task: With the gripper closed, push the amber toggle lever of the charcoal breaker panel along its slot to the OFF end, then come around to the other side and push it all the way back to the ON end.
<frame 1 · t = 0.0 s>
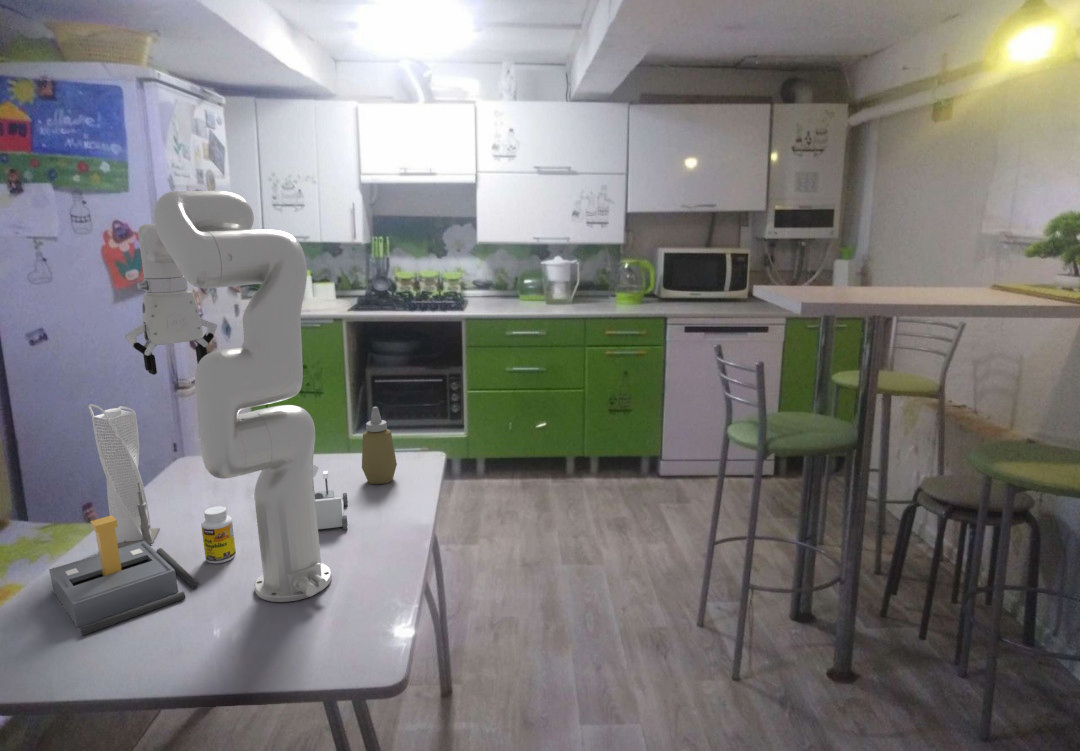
hand: (177, 369, 150), 31 cm above the table, tool pointing down, fingers open, 9 cm apart
cord along the side: (135, 615, 117), on the table
skyscraper: (133, 539, 144), on the table
breaker panel: (115, 591, 125), on the table
toy rover: (319, 518, 154), on the table
squeeze bottle: (380, 481, 173), on the table
dark grey rod: (176, 570, 131), on the table
supplement bottle: (221, 559, 136), on the table
breaker lever: (108, 548, 123), point 8 cm above the table, slide at 4.5 cm
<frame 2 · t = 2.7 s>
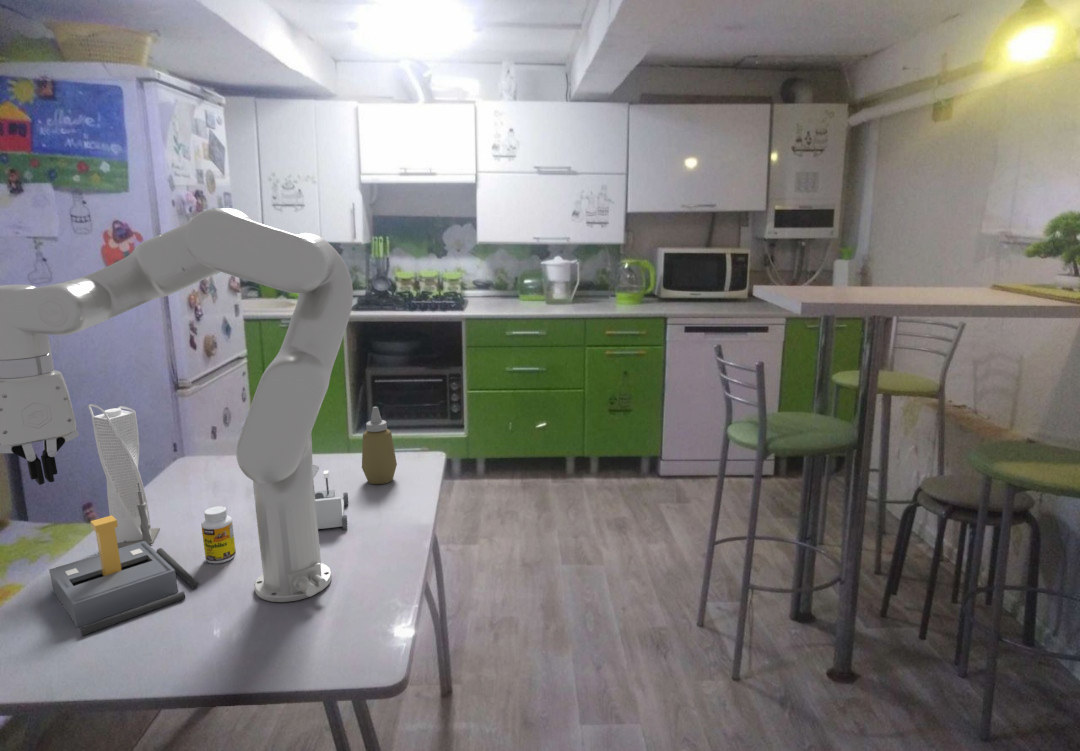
hand: (44, 480, 115), 22 cm above the table, tool pointing down, fingers closed
nothing on the table moved.
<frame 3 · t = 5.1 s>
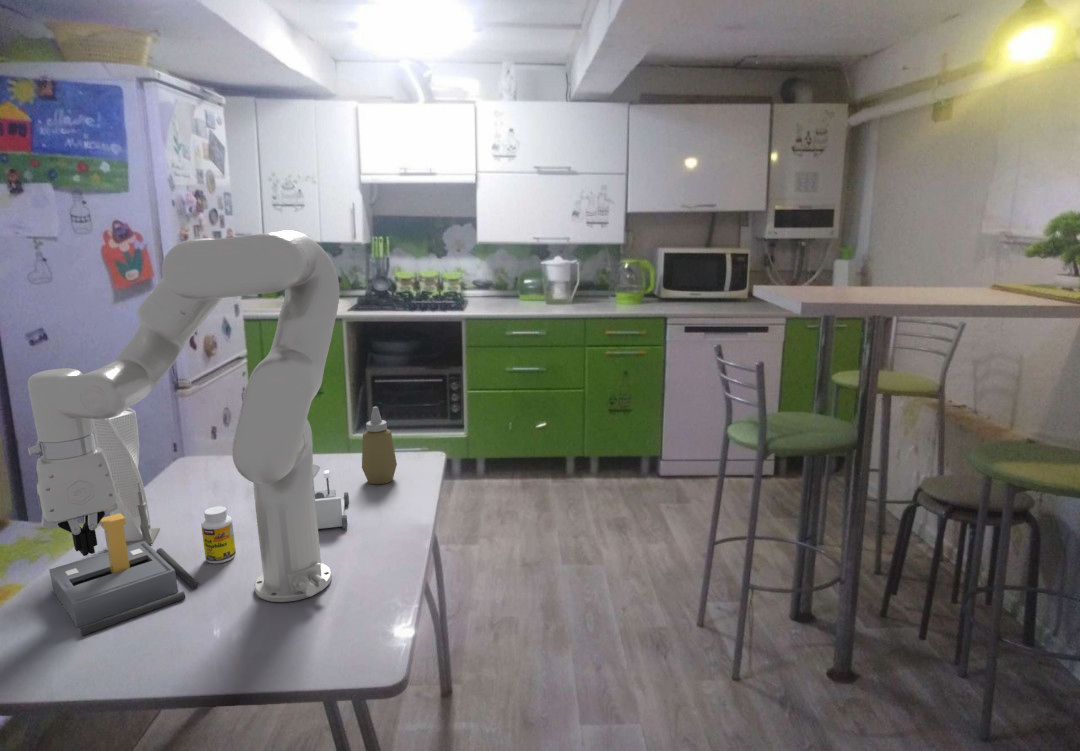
hand: (87, 551, 120), 8 cm above the table, tool pointing down, fingers closed
breaker lever: (116, 545, 124), point 8 cm above the table, slide at 3.2 cm, touching gripper
everything else where it was.
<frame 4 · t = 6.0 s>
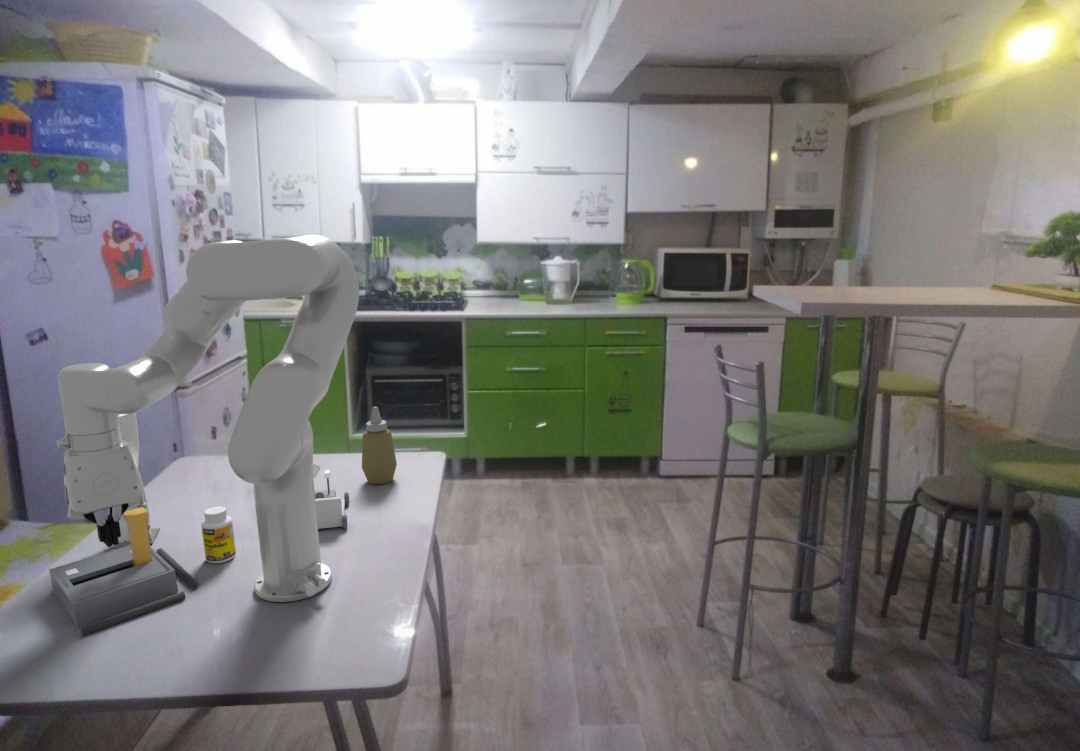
hand: (110, 543, 123), 9 cm above the table, tool pointing down, fingers closed
breaker lever: (139, 538, 126), point 8 cm above the table, slide at -0.3 cm, touching breaker panel, gripper
everything else where it was.
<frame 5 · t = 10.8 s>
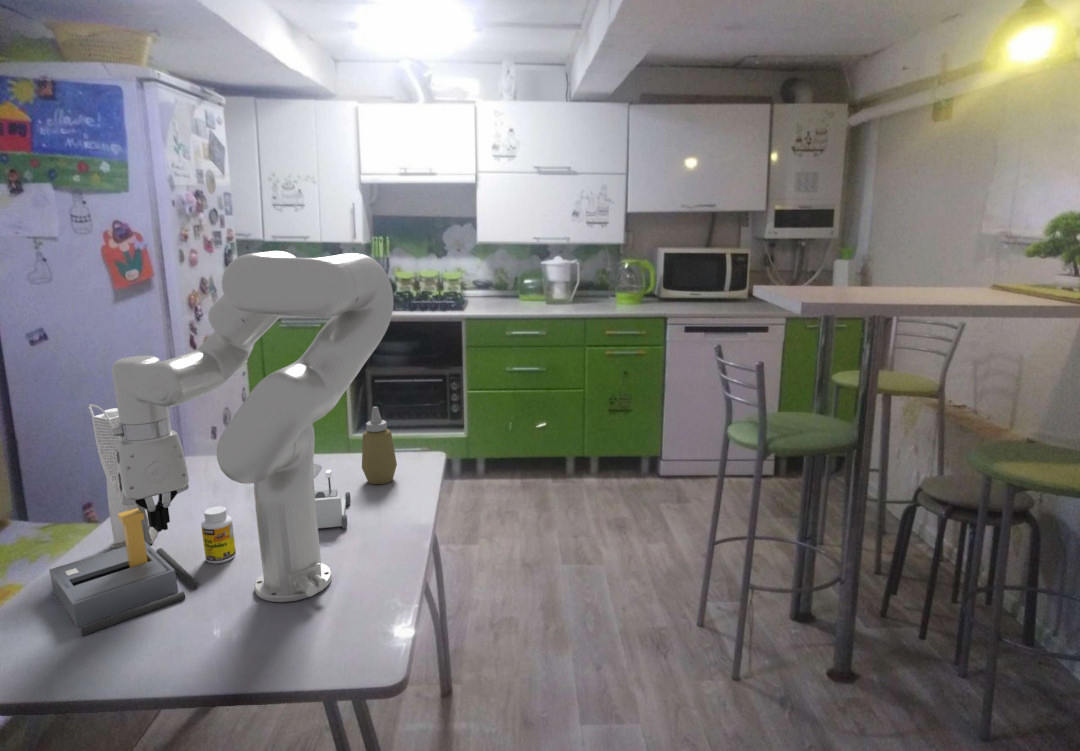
hand: (160, 528, 128), 9 cm above the table, tool pointing down, fingers closed
breaker lever: (134, 540, 125), point 8 cm above the table, slide at 0.4 cm, touching gripper
everything else where it was.
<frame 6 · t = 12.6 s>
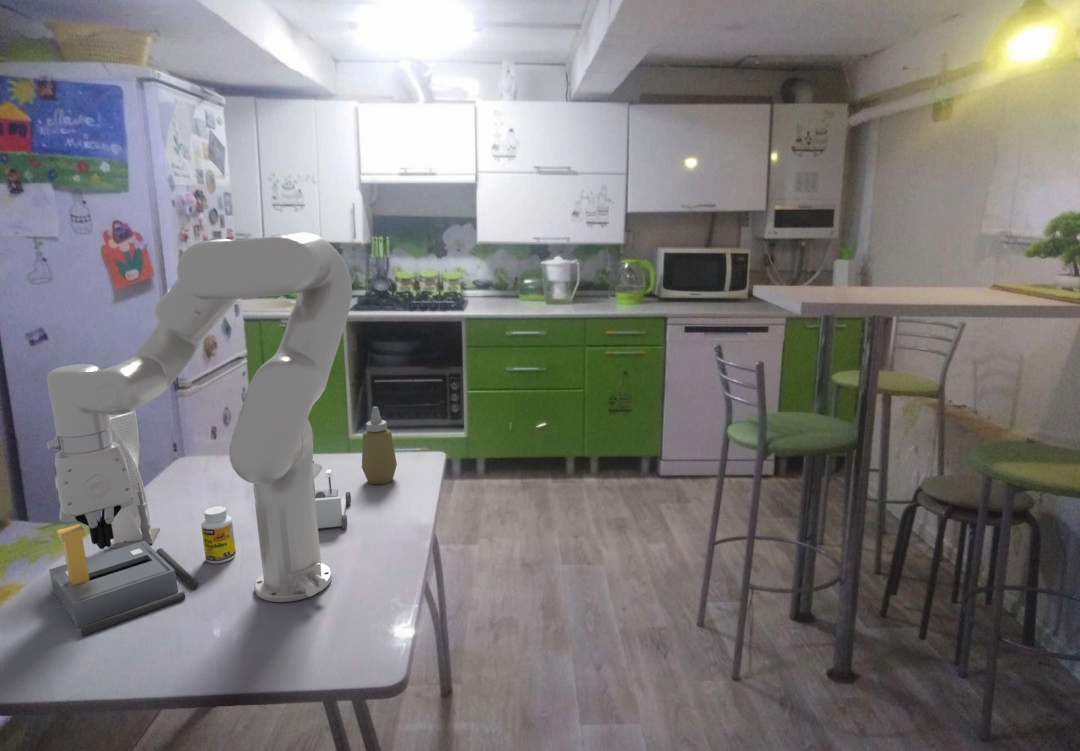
hand: (103, 545, 122), 9 cm above the table, tool pointing down, fingers closed
breaker lever: (75, 557, 119), point 8 cm above the table, slide at 9.3 cm, touching breaker panel, gripper
everything else where it was.
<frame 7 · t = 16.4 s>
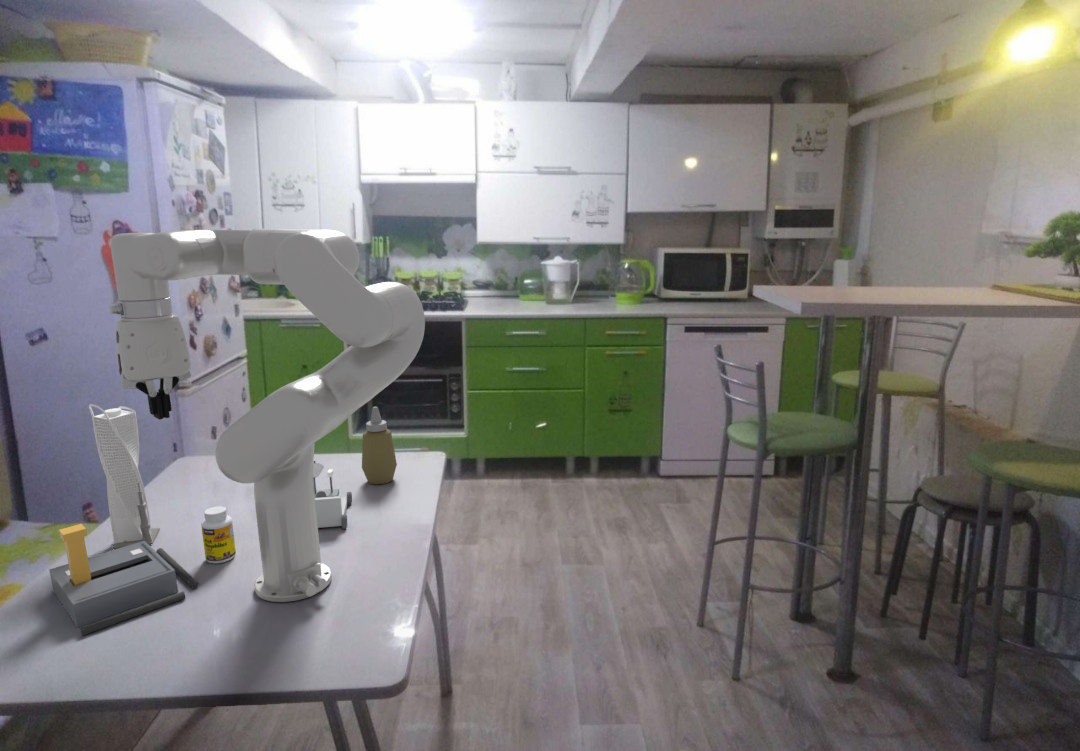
hand: (161, 416, 124), 29 cm above the table, tool pointing down, fingers closed
breaker lever: (77, 557, 120), point 8 cm above the table, slide at 9.0 cm
everything else where it was.
at the end: breaker lever slide at 9.0 cm; breaker lever touching nothing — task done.
